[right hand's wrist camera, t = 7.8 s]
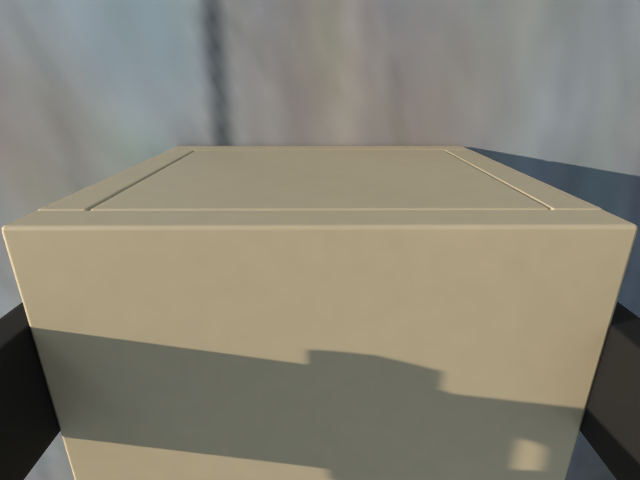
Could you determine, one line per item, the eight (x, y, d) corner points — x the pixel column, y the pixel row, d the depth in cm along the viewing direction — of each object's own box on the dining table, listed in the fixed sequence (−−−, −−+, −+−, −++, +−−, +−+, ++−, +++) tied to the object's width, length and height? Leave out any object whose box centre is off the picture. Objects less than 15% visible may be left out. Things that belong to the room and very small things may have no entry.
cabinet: (419, 502, 24) (481, 767, 15) (220, 503, 24) (158, 769, 15) (462, 145, 17) (642, 225, 7) (176, 145, 17) (-3, 226, 7)
